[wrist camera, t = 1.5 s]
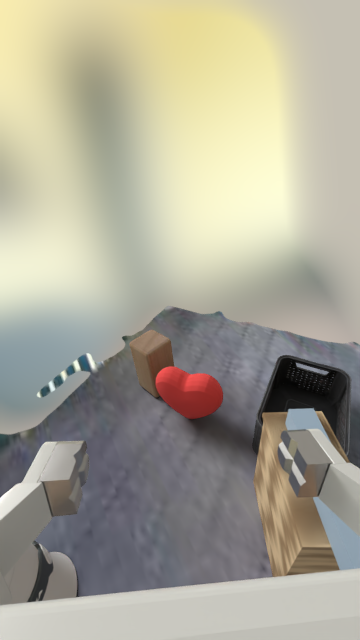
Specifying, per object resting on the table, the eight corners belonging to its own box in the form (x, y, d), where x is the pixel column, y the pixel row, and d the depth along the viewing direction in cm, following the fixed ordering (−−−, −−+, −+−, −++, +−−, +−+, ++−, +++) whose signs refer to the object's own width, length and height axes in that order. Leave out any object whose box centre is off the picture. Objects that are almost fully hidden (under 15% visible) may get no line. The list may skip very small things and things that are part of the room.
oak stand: (337, 597, 42) (396, 548, 28) (275, 595, 43) (302, 546, 29) (296, 479, 57) (321, 411, 44) (251, 480, 58) (262, 412, 44)
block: (138, 385, 87) (127, 342, 77) (159, 370, 93) (151, 327, 82) (156, 399, 81) (147, 354, 70) (177, 382, 87) (171, 338, 76)
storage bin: (332, 494, 55) (349, 464, 47) (248, 453, 64) (252, 423, 57) (338, 402, 75) (351, 371, 67) (274, 381, 84) (279, 352, 77)
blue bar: (439, 703, 20) (465, 704, 18) (388, 700, 20) (408, 701, 18) (308, 423, 42) (313, 408, 40) (285, 423, 42) (288, 409, 40)
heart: (225, 414, 74) (226, 370, 64) (218, 439, 68) (218, 394, 58) (167, 397, 81) (160, 356, 71) (156, 419, 75) (146, 376, 65)
